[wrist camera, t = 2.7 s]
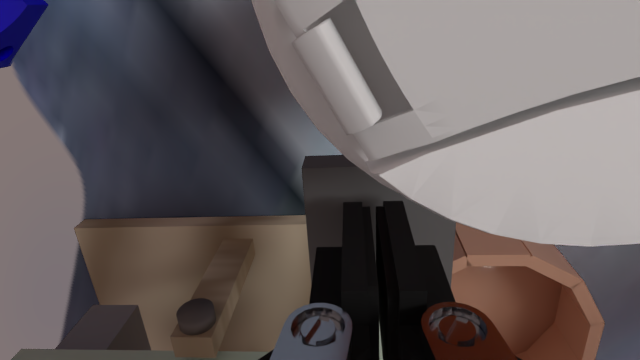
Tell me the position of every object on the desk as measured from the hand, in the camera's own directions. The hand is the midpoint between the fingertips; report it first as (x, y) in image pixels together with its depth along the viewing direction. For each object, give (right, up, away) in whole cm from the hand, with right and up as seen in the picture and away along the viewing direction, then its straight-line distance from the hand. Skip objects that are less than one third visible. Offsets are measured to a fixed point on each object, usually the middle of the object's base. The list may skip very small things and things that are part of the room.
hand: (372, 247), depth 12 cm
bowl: (+7, -5, +12) cm, 14 cm away
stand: (-7, -5, +13) cm, 16 cm away
